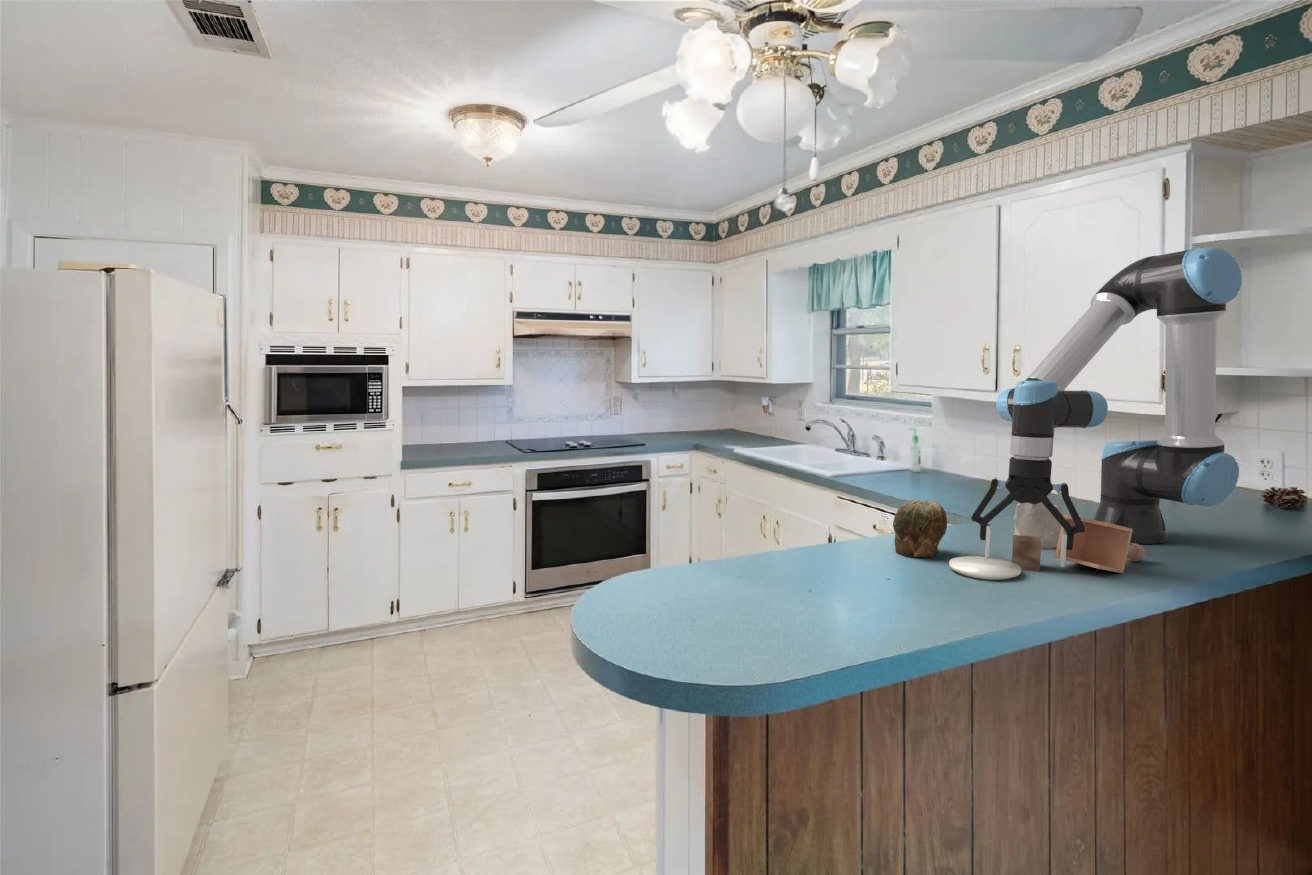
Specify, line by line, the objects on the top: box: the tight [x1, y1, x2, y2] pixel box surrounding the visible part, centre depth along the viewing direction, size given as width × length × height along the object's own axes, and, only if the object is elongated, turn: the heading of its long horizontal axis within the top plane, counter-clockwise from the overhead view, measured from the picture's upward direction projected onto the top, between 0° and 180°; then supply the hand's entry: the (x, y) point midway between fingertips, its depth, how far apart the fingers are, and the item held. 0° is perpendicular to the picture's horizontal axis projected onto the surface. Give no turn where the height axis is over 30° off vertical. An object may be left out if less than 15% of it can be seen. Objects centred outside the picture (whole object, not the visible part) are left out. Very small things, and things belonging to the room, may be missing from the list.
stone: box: [1013, 502, 1064, 550], centre depth 158 cm, size 10×5×12 cm, turn 80°
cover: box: [1054, 513, 1146, 574], centre depth 142 cm, size 9×9×19 cm
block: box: [1011, 534, 1042, 572], centre depth 142 cm, size 5×5×6 cm
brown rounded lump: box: [892, 499, 948, 558], centre depth 153 cm, size 11×11×12 cm
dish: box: [948, 555, 1022, 581], centre depth 139 cm, size 13×13×1 cm
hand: (1023, 560), depth 142 cm, fingers open, 13 cm apart
